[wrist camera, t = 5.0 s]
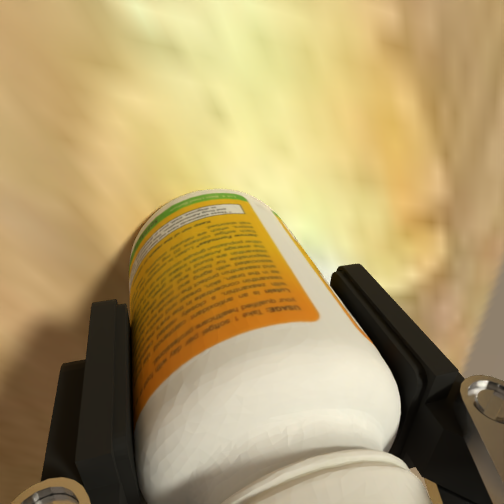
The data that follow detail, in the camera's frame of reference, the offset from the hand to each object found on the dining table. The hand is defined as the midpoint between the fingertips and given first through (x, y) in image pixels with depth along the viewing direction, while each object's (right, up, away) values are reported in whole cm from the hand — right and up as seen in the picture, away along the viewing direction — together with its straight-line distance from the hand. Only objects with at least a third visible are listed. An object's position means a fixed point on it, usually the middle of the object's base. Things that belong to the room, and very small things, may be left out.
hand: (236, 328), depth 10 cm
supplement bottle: (-1, +2, +3) cm, 4 cm away
